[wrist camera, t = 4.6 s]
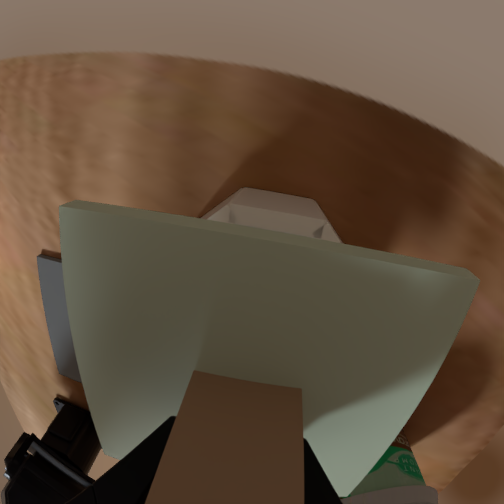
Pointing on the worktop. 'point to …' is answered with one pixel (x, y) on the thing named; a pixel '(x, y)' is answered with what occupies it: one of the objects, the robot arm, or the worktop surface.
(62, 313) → the mat
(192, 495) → the lid
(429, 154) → the worktop surface
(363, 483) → the food container
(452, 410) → the worktop surface
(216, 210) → the bowl
